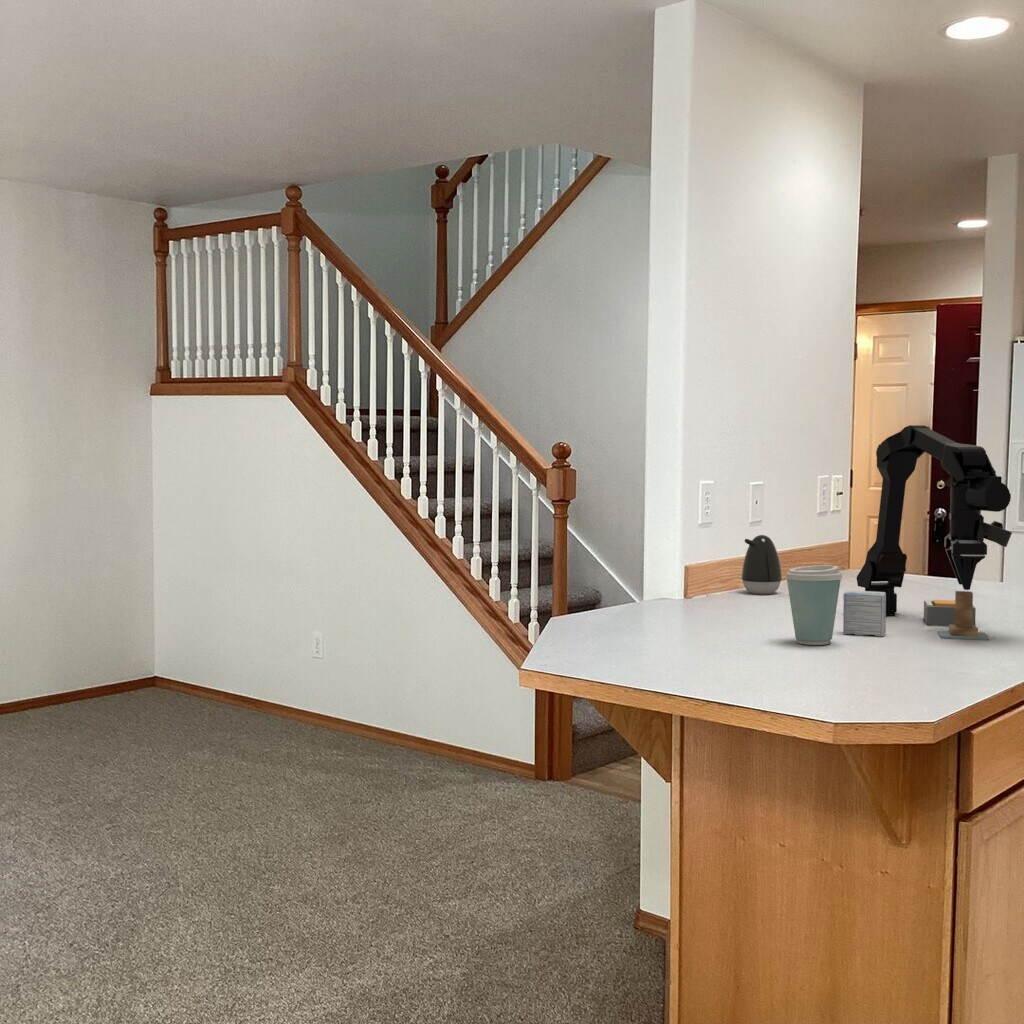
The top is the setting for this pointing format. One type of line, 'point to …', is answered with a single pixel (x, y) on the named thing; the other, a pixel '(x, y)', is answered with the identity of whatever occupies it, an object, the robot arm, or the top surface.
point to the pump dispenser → (761, 566)
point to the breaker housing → (941, 614)
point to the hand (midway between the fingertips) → (964, 587)
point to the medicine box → (864, 613)
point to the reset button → (944, 603)
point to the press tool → (963, 615)
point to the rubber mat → (947, 635)
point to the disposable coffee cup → (814, 602)
